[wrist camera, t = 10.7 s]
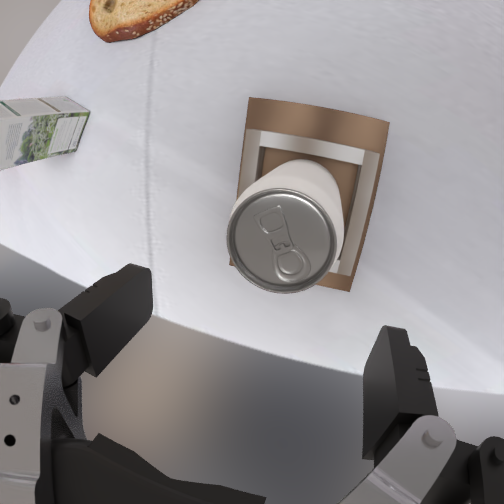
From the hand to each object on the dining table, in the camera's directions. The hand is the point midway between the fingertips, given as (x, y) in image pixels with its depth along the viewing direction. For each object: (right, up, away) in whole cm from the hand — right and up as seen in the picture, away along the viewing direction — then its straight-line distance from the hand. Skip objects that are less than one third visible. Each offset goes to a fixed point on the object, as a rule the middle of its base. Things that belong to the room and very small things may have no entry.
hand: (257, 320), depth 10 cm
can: (+4, +7, +16) cm, 18 cm away
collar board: (+5, +7, +18) cm, 20 cm away
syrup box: (-22, +18, +21) cm, 36 cm away
